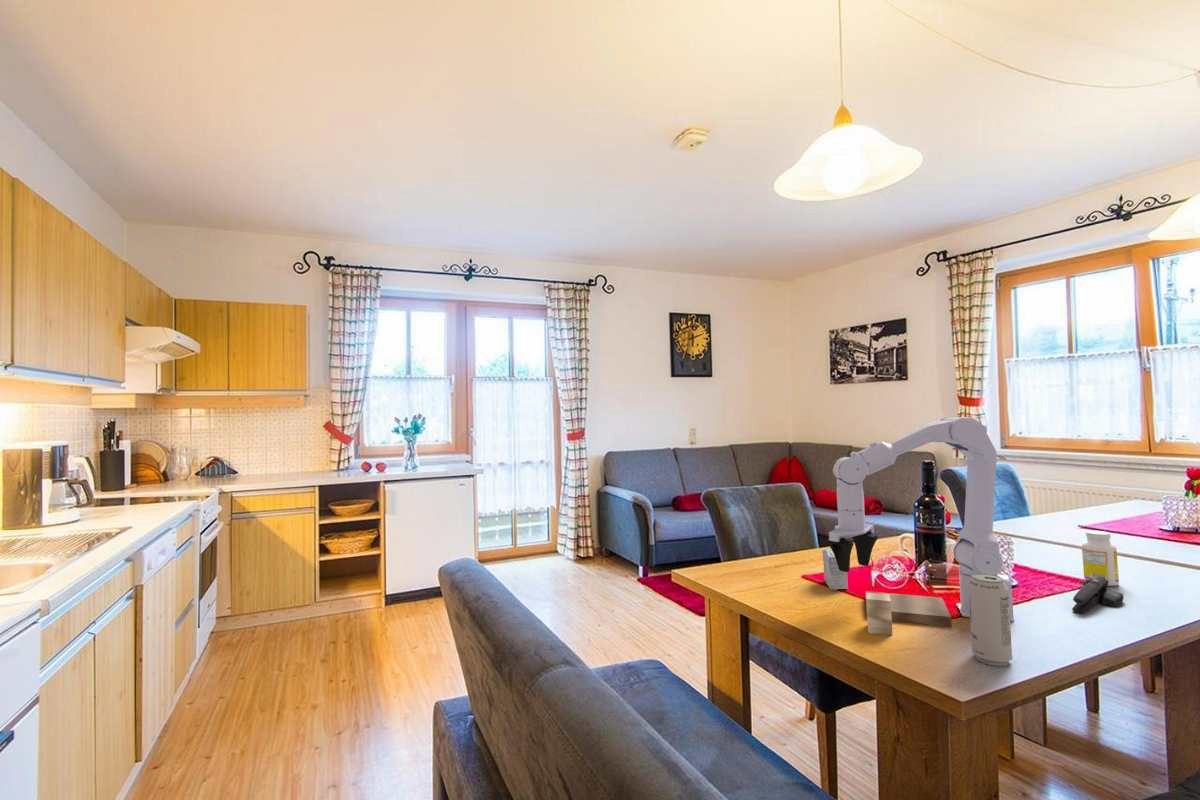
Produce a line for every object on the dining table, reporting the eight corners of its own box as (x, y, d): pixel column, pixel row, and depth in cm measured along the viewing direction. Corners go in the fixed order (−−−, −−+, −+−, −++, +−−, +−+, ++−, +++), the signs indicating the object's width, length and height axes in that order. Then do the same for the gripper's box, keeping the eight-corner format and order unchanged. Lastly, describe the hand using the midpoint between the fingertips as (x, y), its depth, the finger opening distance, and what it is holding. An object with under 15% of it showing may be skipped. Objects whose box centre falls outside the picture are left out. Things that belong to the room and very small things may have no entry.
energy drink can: (975, 650, 106) (971, 570, 107) (1015, 658, 102) (1010, 576, 102) (969, 660, 102) (964, 578, 102) (1009, 670, 98) (1004, 584, 98)
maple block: (890, 627, 119) (889, 594, 119) (892, 635, 114) (890, 601, 115) (867, 625, 120) (865, 592, 121) (868, 632, 116) (866, 599, 116)
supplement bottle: (1105, 579, 145) (1101, 529, 145) (1126, 586, 138) (1123, 534, 138) (1077, 579, 145) (1074, 529, 146) (1097, 587, 139) (1094, 535, 139)
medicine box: (848, 590, 143) (846, 556, 144) (829, 590, 144) (828, 556, 144) (841, 581, 151) (839, 549, 151) (823, 581, 152) (822, 549, 152)
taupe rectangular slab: (942, 606, 130) (941, 597, 130) (951, 626, 118) (951, 617, 118) (866, 599, 136) (865, 591, 136) (868, 618, 124) (867, 609, 124)
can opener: (1090, 595, 134) (1088, 571, 134) (1128, 603, 128) (1127, 578, 128) (1056, 610, 125) (1055, 585, 125) (1096, 619, 119) (1094, 593, 119)
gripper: (853, 503, 137) (856, 559, 137) (816, 511, 129) (819, 570, 129) (881, 506, 131) (884, 565, 131) (843, 514, 123) (847, 576, 123)
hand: (853, 568), depth 129 cm, fingers open, 7 cm apart
